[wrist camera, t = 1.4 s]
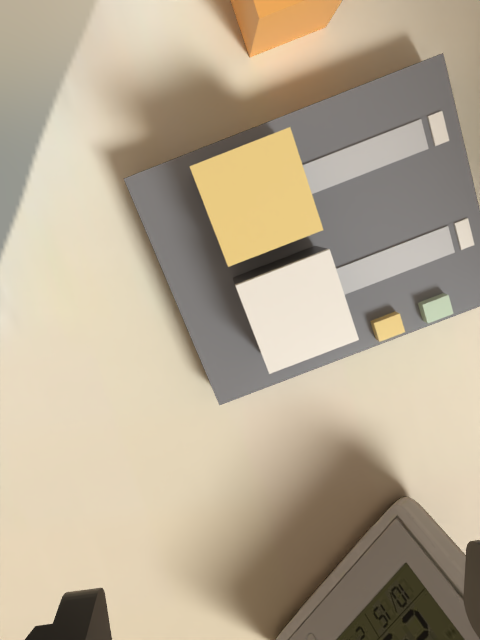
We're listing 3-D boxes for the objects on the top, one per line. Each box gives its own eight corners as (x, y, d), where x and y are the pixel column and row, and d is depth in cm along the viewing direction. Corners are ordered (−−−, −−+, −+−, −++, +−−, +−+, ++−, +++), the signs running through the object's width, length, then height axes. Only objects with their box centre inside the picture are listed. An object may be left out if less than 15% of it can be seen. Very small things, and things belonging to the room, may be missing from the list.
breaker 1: (226, 261, 25) (228, 266, 22) (191, 172, 23) (189, 166, 20) (310, 228, 24) (323, 229, 22) (280, 138, 23) (290, 126, 20)
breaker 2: (262, 356, 26) (269, 374, 23) (232, 277, 25) (235, 285, 22) (342, 325, 26) (359, 339, 23) (315, 245, 25) (329, 249, 22)
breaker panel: (424, 65, 25) (449, 48, 22) (480, 292, 28) (506, 300, 26) (130, 181, 25) (121, 177, 23) (218, 392, 29) (219, 409, 26)
